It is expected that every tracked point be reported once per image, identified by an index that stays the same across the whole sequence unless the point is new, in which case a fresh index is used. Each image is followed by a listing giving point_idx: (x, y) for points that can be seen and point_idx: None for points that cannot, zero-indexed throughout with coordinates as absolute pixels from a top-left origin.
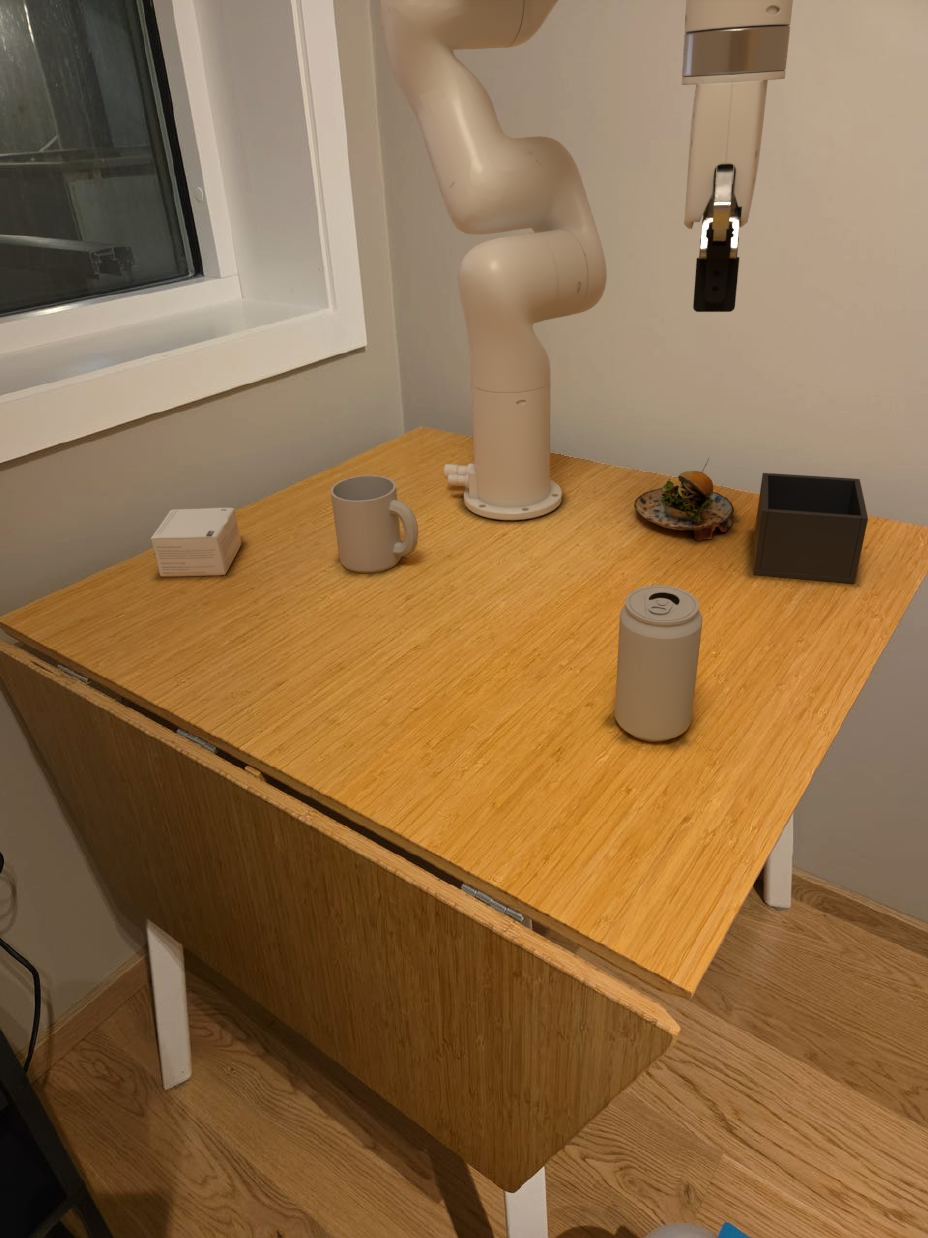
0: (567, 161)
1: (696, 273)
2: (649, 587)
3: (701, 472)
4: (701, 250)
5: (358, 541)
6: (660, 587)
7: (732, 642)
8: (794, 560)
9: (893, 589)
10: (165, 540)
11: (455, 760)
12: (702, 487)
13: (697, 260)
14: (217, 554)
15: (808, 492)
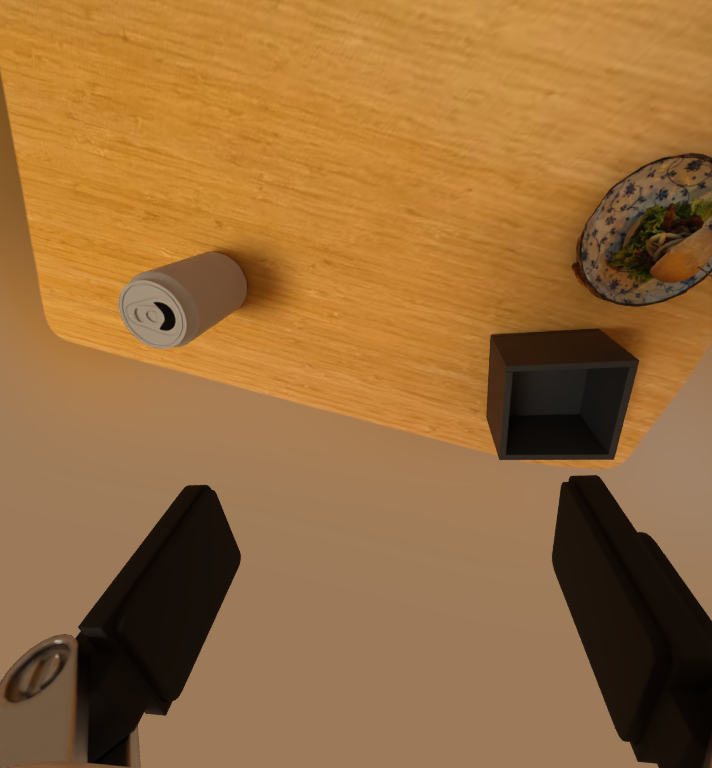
0: None
1: (118, 575)
2: (174, 298)
3: (694, 266)
4: (4, 680)
5: None
6: (180, 309)
7: (357, 327)
8: (492, 377)
9: (482, 443)
10: None
11: (93, 126)
12: (654, 271)
13: (82, 622)
14: None
15: (608, 403)
